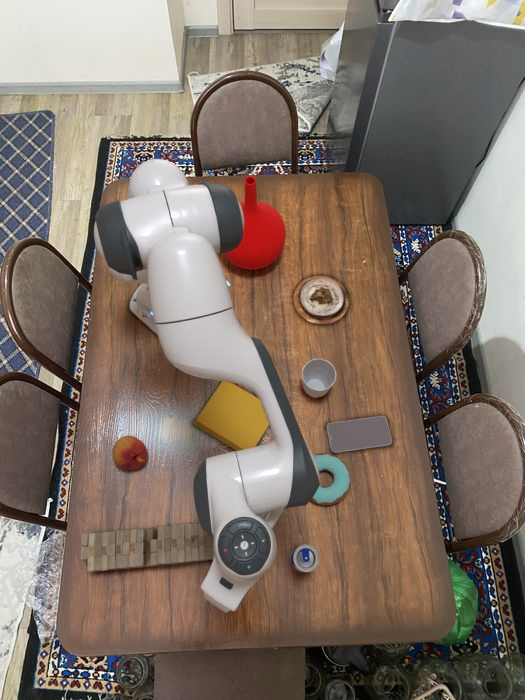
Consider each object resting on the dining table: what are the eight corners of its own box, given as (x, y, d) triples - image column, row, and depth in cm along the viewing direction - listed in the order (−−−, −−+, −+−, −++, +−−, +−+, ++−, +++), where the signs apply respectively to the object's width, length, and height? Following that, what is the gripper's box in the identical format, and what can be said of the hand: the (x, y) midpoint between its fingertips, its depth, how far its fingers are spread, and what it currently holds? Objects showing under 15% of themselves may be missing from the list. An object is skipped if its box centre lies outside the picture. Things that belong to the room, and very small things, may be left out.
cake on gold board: (346, 276, 145) (348, 268, 141) (350, 324, 139) (352, 317, 135) (293, 276, 144) (294, 268, 141) (294, 324, 139) (295, 317, 135)
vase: (207, 261, 146) (195, 190, 119) (242, 216, 152) (238, 139, 125) (262, 291, 143) (263, 225, 115) (296, 244, 149) (304, 170, 121)
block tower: (92, 572, 116) (223, 560, 116) (79, 572, 108) (219, 560, 108) (94, 534, 119) (221, 523, 119) (81, 532, 111) (217, 520, 111)
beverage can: (288, 548, 117) (291, 545, 103) (310, 546, 117) (317, 543, 103) (290, 572, 115) (294, 573, 101) (313, 570, 115) (320, 570, 101)
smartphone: (392, 444, 125) (332, 453, 124) (392, 445, 126) (331, 454, 125) (385, 415, 128) (326, 423, 127) (384, 416, 129) (325, 424, 128)
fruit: (123, 478, 123) (115, 472, 115) (111, 448, 125) (102, 441, 118) (154, 463, 124) (147, 456, 117) (141, 433, 127) (134, 425, 120)
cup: (328, 406, 130) (333, 393, 121) (296, 399, 130) (299, 387, 121) (333, 376, 133) (338, 361, 124) (302, 370, 134) (305, 355, 124)
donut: (288, 475, 123) (289, 472, 119) (326, 445, 126) (328, 441, 122) (320, 517, 119) (322, 515, 116) (359, 485, 122) (362, 482, 119)
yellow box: (193, 424, 128) (193, 423, 127) (224, 378, 133) (224, 378, 132) (248, 458, 125) (248, 457, 124) (278, 410, 129) (278, 409, 129)
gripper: (264, 480, 85) (263, 491, 98) (193, 597, 78) (202, 592, 91) (297, 500, 84) (292, 509, 97) (228, 622, 77) (233, 613, 90)
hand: (248, 550), depth 94 cm, fingers closed on travel mug, 6 cm apart
